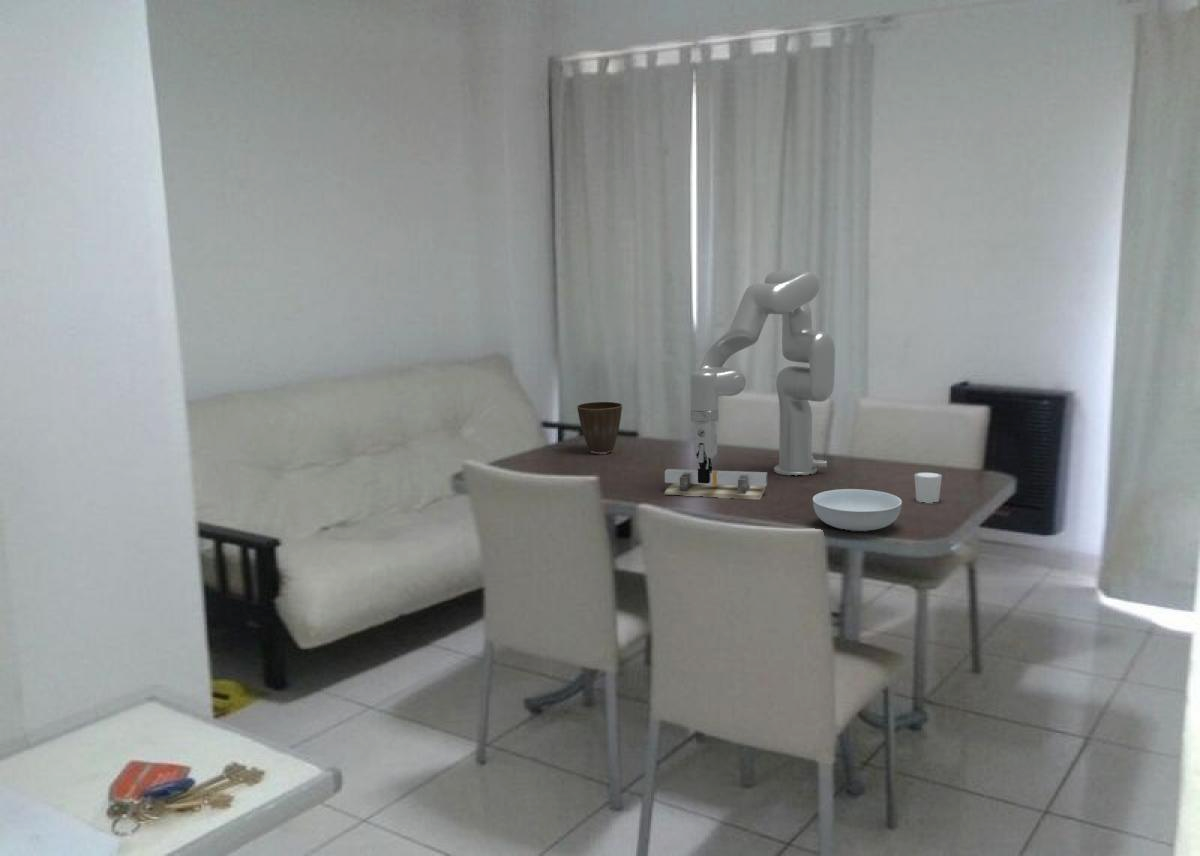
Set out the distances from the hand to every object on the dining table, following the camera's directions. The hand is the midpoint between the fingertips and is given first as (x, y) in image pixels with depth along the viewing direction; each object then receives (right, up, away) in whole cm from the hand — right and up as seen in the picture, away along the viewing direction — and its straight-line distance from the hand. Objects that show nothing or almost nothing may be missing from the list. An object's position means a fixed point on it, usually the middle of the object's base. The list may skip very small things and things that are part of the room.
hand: (705, 480), depth 285 cm
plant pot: (-29, +6, +59) cm, 66 cm away
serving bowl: (+33, -9, -37) cm, 50 cm away
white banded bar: (+3, -1, -1) cm, 3 cm away
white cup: (+57, -5, -15) cm, 59 cm away
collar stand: (+3, -3, 0) cm, 4 cm away
